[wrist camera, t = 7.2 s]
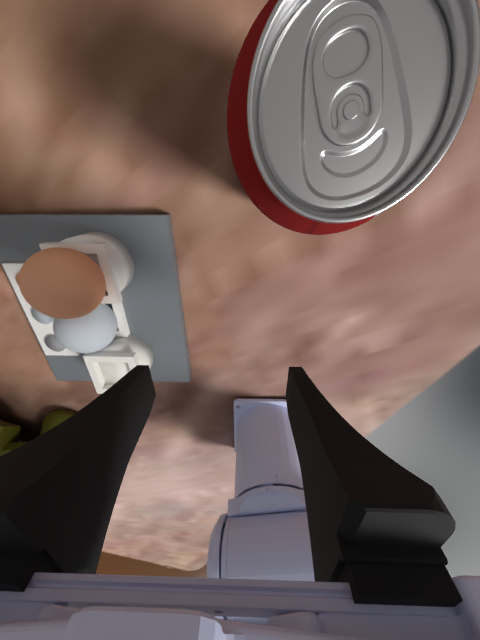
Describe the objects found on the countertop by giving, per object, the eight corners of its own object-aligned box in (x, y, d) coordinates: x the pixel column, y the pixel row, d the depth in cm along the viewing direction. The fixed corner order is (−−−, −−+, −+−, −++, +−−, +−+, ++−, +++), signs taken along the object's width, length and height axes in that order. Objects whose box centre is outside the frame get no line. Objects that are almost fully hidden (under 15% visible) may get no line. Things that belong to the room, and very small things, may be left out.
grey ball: (131, 334, 23) (107, 365, 19) (84, 334, 23) (51, 364, 19) (120, 290, 20) (90, 314, 17) (68, 289, 21) (27, 313, 17)
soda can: (253, 223, 19) (262, 272, 8) (223, 116, 16) (175, -29, 5) (344, 192, 17) (490, 202, 7) (330, 70, 14) (555, -241, 4)
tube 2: (158, 373, 25) (147, 396, 22) (111, 373, 25) (95, 395, 22) (149, 333, 22) (136, 353, 20) (98, 333, 23) (77, 353, 20)
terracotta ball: (123, 301, 18) (92, 332, 14) (65, 301, 18) (18, 332, 14) (108, 240, 16) (66, 257, 12) (42, 240, 16) (-21, 257, 12)
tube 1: (140, 291, 20) (124, 307, 18) (84, 291, 21) (59, 307, 18) (127, 231, 18) (106, 239, 15) (64, 231, 18) (32, 239, 16)
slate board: (191, 375, 26) (188, 386, 25) (63, 373, 26) (53, 384, 25) (170, 213, 18) (164, 216, 17) (-11, 214, 19) (-32, 216, 17)
